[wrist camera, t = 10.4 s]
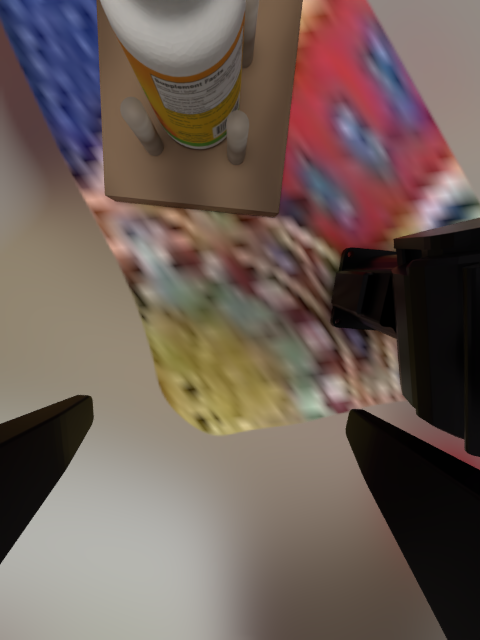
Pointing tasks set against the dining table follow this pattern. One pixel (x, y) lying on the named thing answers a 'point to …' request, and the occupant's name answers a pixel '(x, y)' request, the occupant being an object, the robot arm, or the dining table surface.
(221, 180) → the peg cradle
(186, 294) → the dining table surface
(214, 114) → the supplement bottle
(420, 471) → the robot arm
